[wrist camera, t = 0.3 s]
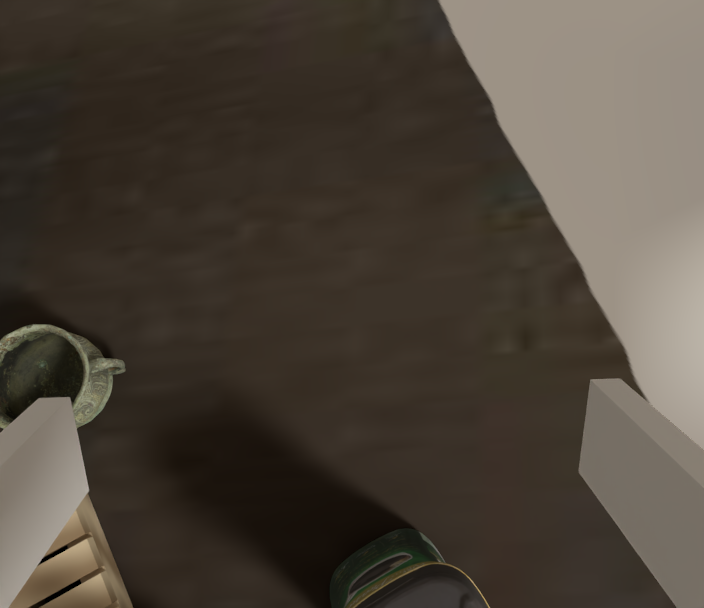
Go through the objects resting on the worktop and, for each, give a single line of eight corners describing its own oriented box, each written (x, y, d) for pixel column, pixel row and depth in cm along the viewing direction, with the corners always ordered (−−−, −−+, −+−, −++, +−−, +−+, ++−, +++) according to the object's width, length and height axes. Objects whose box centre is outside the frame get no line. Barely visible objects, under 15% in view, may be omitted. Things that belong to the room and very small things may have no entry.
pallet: (142, 629, 43) (127, 642, 40) (-30, 730, 41) (-58, 751, 38) (78, 468, 46) (60, 470, 43) (-85, 554, 44) (-115, 562, 41)
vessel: (8, 454, 46) (-43, 454, 40) (-3, 356, 48) (-52, 343, 42) (146, 416, 47) (118, 411, 41) (130, 322, 49) (100, 304, 43)
